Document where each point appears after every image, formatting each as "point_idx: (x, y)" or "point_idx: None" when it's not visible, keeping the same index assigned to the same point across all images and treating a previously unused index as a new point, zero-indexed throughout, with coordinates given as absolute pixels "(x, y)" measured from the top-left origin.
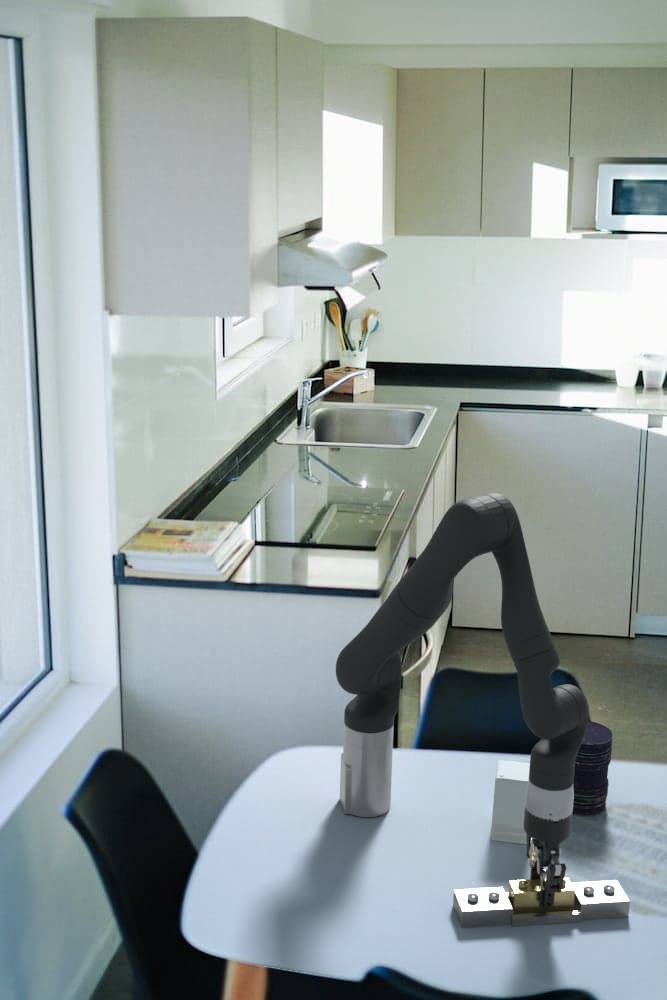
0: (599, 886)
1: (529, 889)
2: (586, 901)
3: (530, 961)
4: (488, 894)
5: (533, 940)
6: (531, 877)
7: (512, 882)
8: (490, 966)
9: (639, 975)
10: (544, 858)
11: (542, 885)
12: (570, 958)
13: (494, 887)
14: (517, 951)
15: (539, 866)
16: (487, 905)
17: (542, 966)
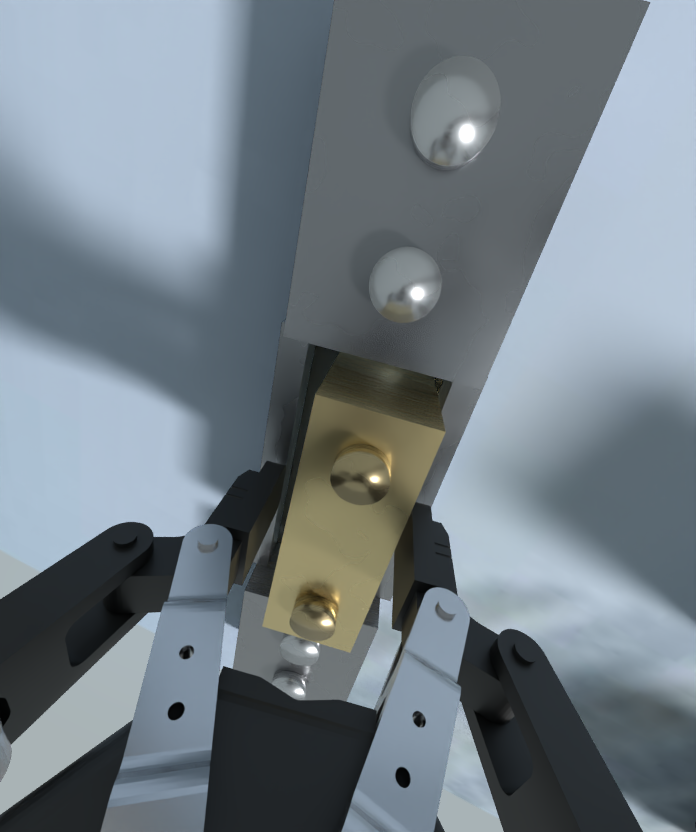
0: (323, 676)
1: (321, 481)
2: (255, 609)
3: (67, 264)
4: (455, 271)
5: (192, 348)
6: (414, 544)
7: (419, 438)
8: (25, 32)
9: (17, 528)
10: (40, 819)
11: (190, 548)
12: (85, 411)
13: (499, 344)
14: (131, 244)
15: (147, 673)
16: (350, 199)
17: (39, 294)
